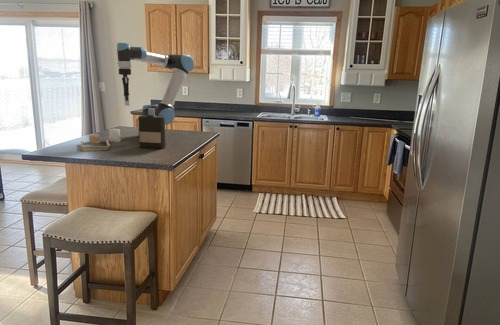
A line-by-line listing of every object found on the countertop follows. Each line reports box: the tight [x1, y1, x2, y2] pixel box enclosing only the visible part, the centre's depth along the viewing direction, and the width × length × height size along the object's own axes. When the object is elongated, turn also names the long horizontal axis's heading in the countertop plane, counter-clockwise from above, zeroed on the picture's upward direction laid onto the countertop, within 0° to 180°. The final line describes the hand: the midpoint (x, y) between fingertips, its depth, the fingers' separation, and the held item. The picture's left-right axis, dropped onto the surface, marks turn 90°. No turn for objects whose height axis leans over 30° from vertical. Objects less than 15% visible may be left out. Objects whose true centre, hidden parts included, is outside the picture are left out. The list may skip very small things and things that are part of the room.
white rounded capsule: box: [108, 128, 122, 143], centre depth 244 cm, size 7×7×8 cm
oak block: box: [88, 134, 101, 145], centre depth 237 cm, size 6×6×5 cm
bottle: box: [137, 108, 166, 150], centre depth 228 cm, size 8×16×25 cm, turn 88°
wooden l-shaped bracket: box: [80, 139, 111, 152], centre depth 225 cm, size 20×16×2 cm
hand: (127, 105), depth 234 cm, fingers closed
